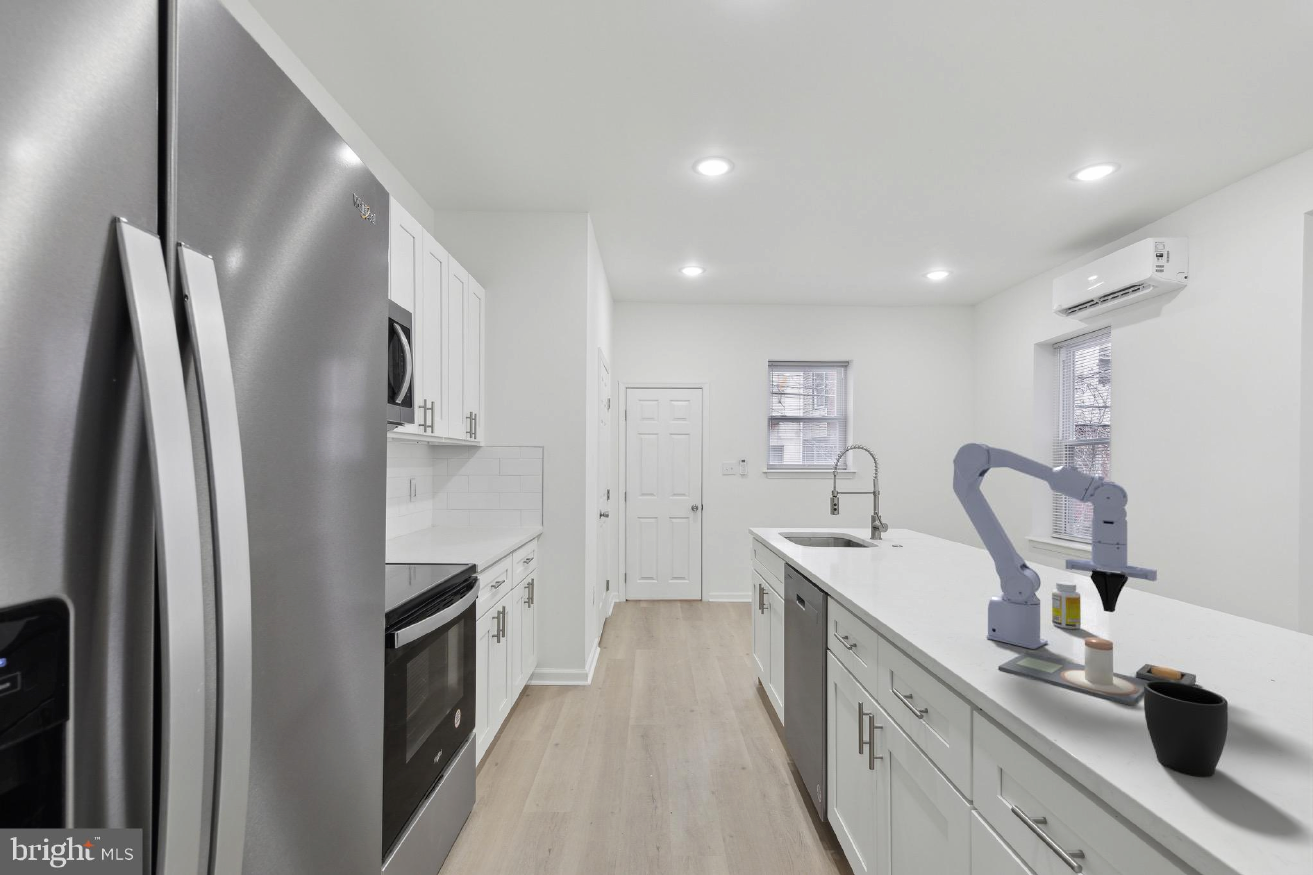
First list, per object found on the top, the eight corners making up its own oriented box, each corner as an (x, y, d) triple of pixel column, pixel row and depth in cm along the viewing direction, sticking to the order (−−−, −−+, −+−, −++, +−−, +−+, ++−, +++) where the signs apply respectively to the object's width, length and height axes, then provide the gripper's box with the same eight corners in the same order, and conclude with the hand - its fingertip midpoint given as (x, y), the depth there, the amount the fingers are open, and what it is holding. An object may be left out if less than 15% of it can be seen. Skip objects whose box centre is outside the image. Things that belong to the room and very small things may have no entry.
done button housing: (1136, 680, 108) (1136, 671, 108) (1146, 671, 112) (1146, 663, 112) (1187, 692, 102) (1187, 684, 102) (1195, 683, 107) (1195, 674, 107)
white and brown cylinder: (1081, 680, 105) (1081, 640, 105) (1088, 675, 108) (1088, 635, 108) (1109, 687, 102) (1109, 646, 102) (1116, 681, 105) (1115, 641, 105)
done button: (1148, 679, 107) (1148, 669, 107) (1154, 674, 110) (1154, 665, 110) (1177, 686, 104) (1177, 676, 104) (1182, 681, 107) (1182, 671, 107)
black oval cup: (1218, 752, 82) (1218, 681, 82) (1233, 790, 72) (1233, 711, 72) (1141, 734, 87) (1141, 667, 87) (1145, 768, 77) (1145, 693, 77)
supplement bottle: (1083, 627, 141) (1083, 583, 141) (1076, 631, 137) (1076, 586, 138) (1056, 621, 145) (1056, 579, 145) (1048, 625, 142) (1048, 582, 142)
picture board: (998, 669, 112) (998, 665, 112) (1026, 654, 121) (1026, 650, 121) (1131, 705, 96) (1131, 700, 96) (1153, 685, 105) (1153, 680, 105)
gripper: (1060, 539, 123) (1060, 606, 123) (1150, 549, 112) (1150, 622, 111) (1071, 536, 127) (1071, 601, 127) (1159, 546, 116) (1159, 616, 116)
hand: (1109, 610), depth 119 cm, fingers closed
